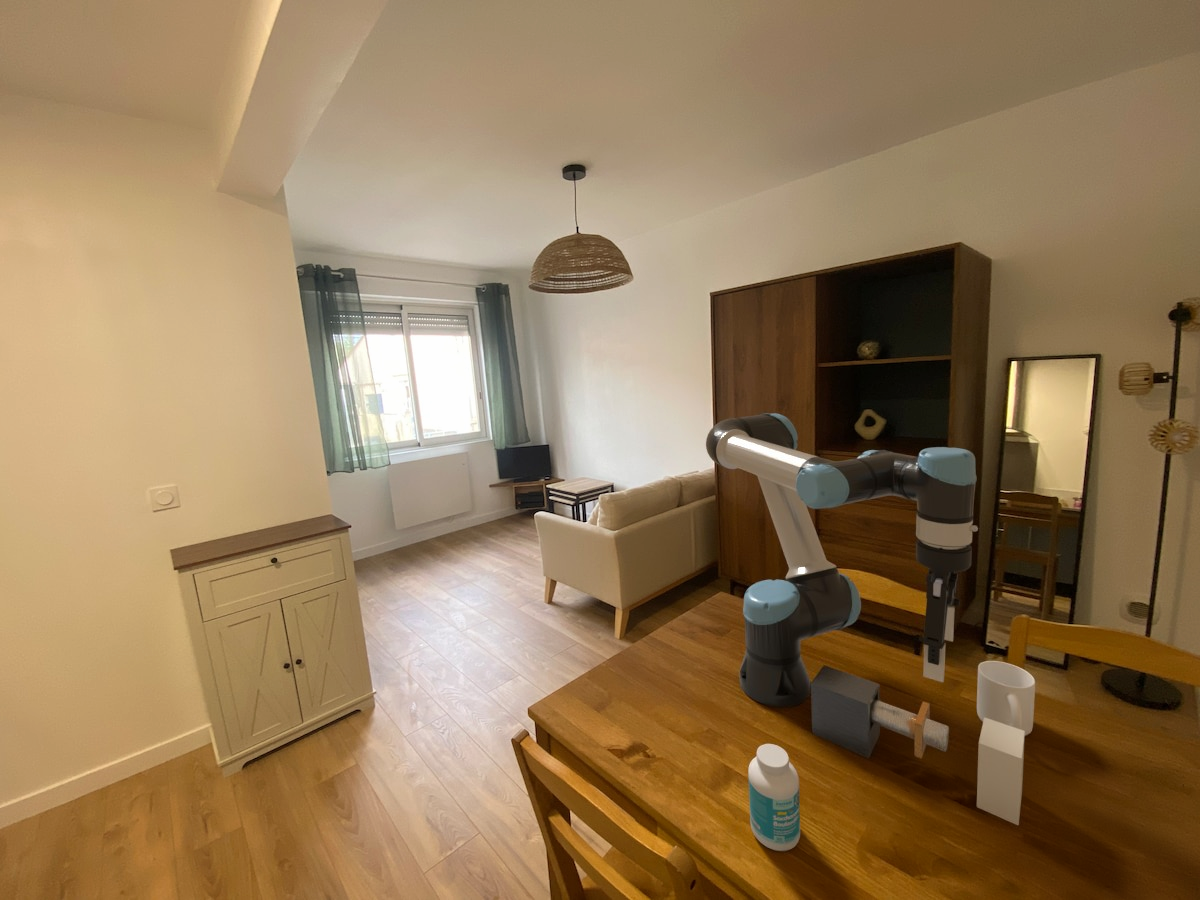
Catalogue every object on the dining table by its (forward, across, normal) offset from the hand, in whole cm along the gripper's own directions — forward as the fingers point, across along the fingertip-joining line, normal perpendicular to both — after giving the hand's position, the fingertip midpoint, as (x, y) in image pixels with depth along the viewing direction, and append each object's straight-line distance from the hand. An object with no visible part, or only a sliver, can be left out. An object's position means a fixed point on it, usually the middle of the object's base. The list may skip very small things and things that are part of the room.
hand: (938, 657), depth 82 cm
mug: (+20, +15, -10) cm, 27 cm away
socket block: (+19, -5, -9) cm, 22 cm away
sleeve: (+20, -4, +14) cm, 25 cm away
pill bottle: (+20, -30, +17) cm, 40 cm away
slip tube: (+15, -4, +8) cm, 18 cm away
